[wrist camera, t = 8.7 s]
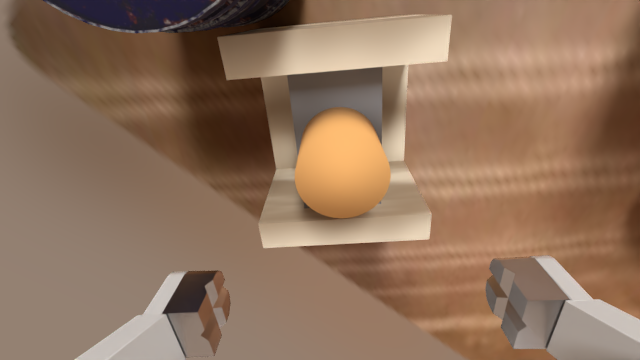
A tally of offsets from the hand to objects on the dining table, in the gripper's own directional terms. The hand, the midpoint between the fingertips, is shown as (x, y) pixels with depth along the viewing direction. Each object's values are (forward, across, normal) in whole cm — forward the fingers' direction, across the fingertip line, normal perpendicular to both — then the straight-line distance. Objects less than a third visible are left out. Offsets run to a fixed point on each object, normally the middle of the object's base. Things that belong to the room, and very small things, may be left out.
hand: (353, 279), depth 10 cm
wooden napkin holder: (+19, 0, -1) cm, 19 cm away
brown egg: (+11, 0, 0) cm, 11 cm away
